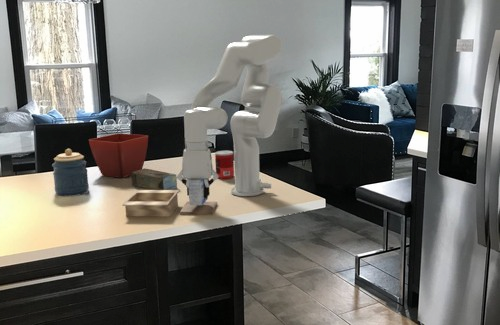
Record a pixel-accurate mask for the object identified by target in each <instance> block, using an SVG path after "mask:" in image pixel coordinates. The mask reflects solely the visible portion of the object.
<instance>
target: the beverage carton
mask: <svg viewBox="0 0 500 325" xmlns="http://www.w3.org/2000/svg"><path fill="white" fill-rule="evenodd" d="M130 176H131V185H132V186H133V187H139V188H141V189H142V188H143V189H146V190H176V189H178V179H177V174H175V173H170V172H165V171H161V170H155V169H149V168H142V169H141V170H137V171H134V172H131V175H130Z"/></svg>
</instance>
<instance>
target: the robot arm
mask: <svg viewBox="0 0 500 325" xmlns="http://www.w3.org/2000/svg"><path fill="white" fill-rule="evenodd" d="M282 50H283V42H282V39H281V38H280V37H279V36H278V35H275V34H252V35H247V36H244V37H243V38H242V39H241V40H240V41H235V42H232V43H231V42H230V43H229V44H228V45H227V47H226V48H225V50H224V52H223V55H222V58H221V60H220V63H219V65H218V67H217V70H216V72H215V74H214V77H213V78H212V79H210V81H208V82H207V83H206V84H205V85H204V86H202V88H201V89H200V90H199V91H198V93H197V94H196V96H195V97H194V100H193V102H192V104H191V107H190V109H188V110H185V111H184V113H183V123H184V124H183V126H184V144H185V145H184V146H185V147H184V149H183V154H182V165H181V167H182V168H181V170H180V172H179V173H178V174H177V175H176V177H177V180H179V181H180V182H181V183H182V184H184V186H185V188H186V194H187V196H188V197H189V186H188V181H190V180H191V179H204V183H205V187H204V196H205V199H207V197H208V198H209V196H210V194H211V193H210V186H212V184H214V183H215V181H217V180H218V178H219V176H218V174H217V173H216V170H215V169H214V166H213V159H212V157H213V156H212V153H211V149H210V148H209V147H212V146H213V145H212V143H213V142H209V141H208V130H220V129H222V128H224V127H225V126H226V125H227V123H228V118H229V117H228V113H227V111H226V110H225V109H223V108H221V107H217V106H216V107H213V106H211V104H212V103H213V101H215V100H216V99H218V98H219V97H221V96H223V95H225V94H227V93H229V92H231V91H233V90H235V89H236V88H237V86H238V83H239V82H240V78H241V76H242V74H243V71H244V69H245V67H246V68H247V69H246V70H247V71H246V76H245V80H244V83H243V84H244V85H243V88H242V92H241V96H240V103H241V105H243V106H244V107H245V108H248V109H254V110H255V109H257V110H259V111H256V110H255V111H253V110H239V111H236V112H235V113H233V115H232V116H231V118H230V131H231V134H232V140H233V155H234V187H233V188H231V190H230V192H231V194H232V195H233V196H237V197H256V196H260V195H262V194H264V192H265V190H264V189H270V190H271V189H272V183H269V182H263V181H262V180H261V179H260V146H259V143H258V140H257V138H258V139H259V138H260V139H267V138H270V137H271V136H272V135H273V133H274V131H275V130H276V125H277V122H278V118H279V114H280V111H281V105H282V99H283V98H282V92H281V89H280V87H278V86H277V85H276V84H272V83H269V77H270V69H269V66H268V65H267V64H268V62H270V61H272V60H275V59H276V58H278V57H279V56H280V54H281V53H282ZM211 177H212V178H211ZM207 200H208V199H207Z"/></svg>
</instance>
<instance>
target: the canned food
mask: <svg viewBox="0 0 500 325" xmlns="http://www.w3.org/2000/svg"><path fill="white" fill-rule="evenodd" d="M214 161H215V163H214V164H215V172H216V173H217V174H218V176H219V178H218V179H219V180H229V179H232V178H235V166H234V151H232V150H218V151H215V153H214ZM218 179H217V180H218Z"/></svg>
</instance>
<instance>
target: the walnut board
mask: <svg viewBox="0 0 500 325" xmlns="http://www.w3.org/2000/svg"><path fill="white" fill-rule="evenodd" d="M217 206H218V201H205V202H204V203H203V204H202V205H190V203H189V201H186V202H185V204H184V205H183V206H182V208H181V210H180V211H179V215H183V216H184V215H187V216H188V215H195V216H196V215H197V216H198V215H199V216H200V215H205V216H206V215H213V213H214V212H215V210H216V207H217Z"/></svg>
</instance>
